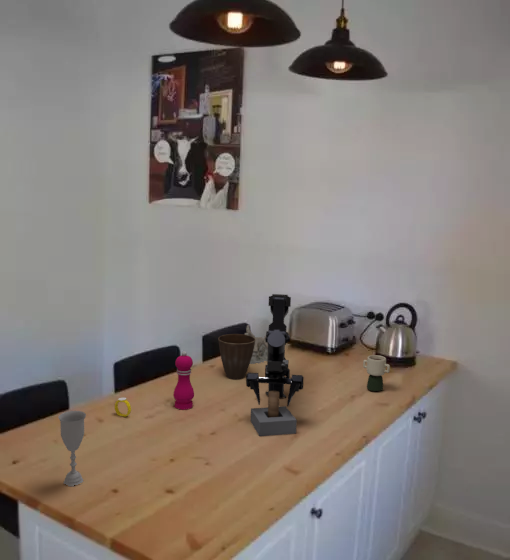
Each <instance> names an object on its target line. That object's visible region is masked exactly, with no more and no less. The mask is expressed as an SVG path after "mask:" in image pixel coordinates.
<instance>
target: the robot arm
mask: <svg viewBox="0 0 510 560" xmlns="http://www.w3.org/2000/svg"><path fill="white" fill-rule="evenodd" d="M291 298H292V297H291V296H289V294H279V293H278V294H276V293H272V294H271V295H270V296H268V305H267V306H268V307H270V309H269V310H270V313H271V315H272V321H271V323H270V324H269V325H268V331H267V330H266V332H265V336H266V338H265V342H268V359H267V361H266V364H265V365H264V376H260V375H259V372H250V371H249V372H248V371H247V372H246V375H245V386H246V388H247V387H248V388H250V390H253V392H254V395H255V397H256V400H257V401H256V402H257V405H258V406H260V405H261V394H260V384H268V386H267V387H268V389H267V391H265V395H266V396H267V397H268V394H269V391H278V392H279V399H286V398H287V401H286V402H287V404H286V407H289V406H290V403H291V402H292V399H293V398H294V396H295V395H296V393H298V392H300V391H302V390H303V389H304V382H305V381H304V378H305V377H304V375H302V374H291V373H290V371H291V370H290V369H289V363H290V362H289V359H286V356H285V354H286V352H285V351H286V348H285V347H286V345H287V344H289V342H290V340H291V339H290V338H291V336H290V334H289V331H287V329H288V328H287V325H286V324H285V317H286V316H287V315H288V314H289V310H290V309H289V308H291V306H292V305H291V302H292V300H291ZM290 375H291V378H290ZM285 385H289V389H288V396H287V395H286V394H285V393H284V389H285Z"/></svg>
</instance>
